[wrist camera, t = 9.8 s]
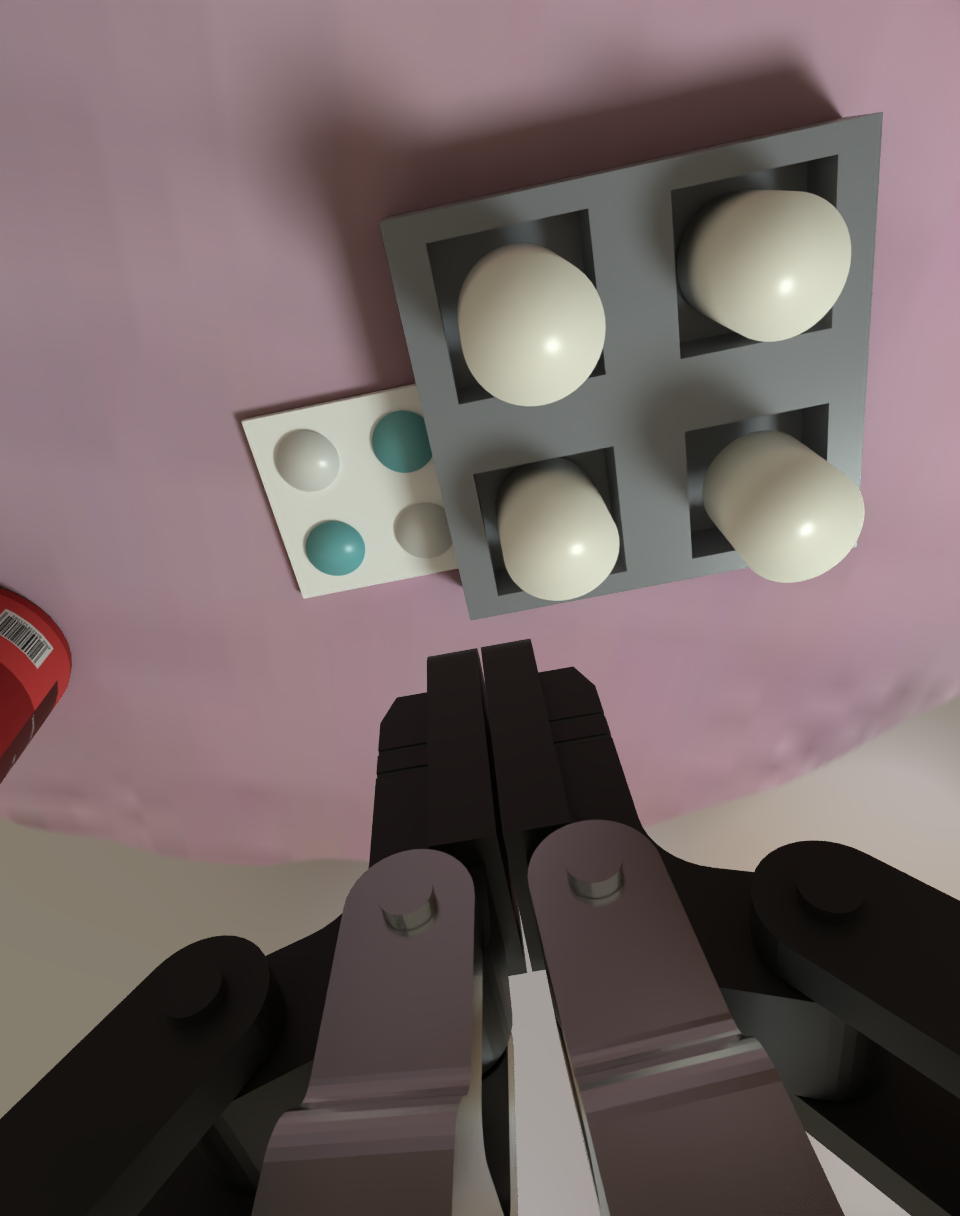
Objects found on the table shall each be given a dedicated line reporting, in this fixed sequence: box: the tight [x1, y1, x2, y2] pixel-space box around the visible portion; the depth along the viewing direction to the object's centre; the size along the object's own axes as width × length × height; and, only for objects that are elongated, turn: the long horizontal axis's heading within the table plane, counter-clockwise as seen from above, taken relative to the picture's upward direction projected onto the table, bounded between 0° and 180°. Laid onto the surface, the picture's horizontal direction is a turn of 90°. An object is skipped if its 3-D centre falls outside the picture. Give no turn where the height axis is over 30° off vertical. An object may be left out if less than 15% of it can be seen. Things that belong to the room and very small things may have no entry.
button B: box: [677, 189, 851, 342], centre depth 29 cm, size 5×5×5 cm
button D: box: [702, 430, 865, 583], centre depth 31 cm, size 5×5×5 cm
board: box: [379, 112, 883, 620], centre depth 33 cm, size 18×17×3 cm
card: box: [242, 384, 458, 598], centre depth 36 cm, size 9×9×1 cm
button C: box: [496, 458, 619, 601], centre depth 33 cm, size 5×5×5 cm
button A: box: [457, 243, 606, 406], centre depth 27 cm, size 5×5×5 cm
